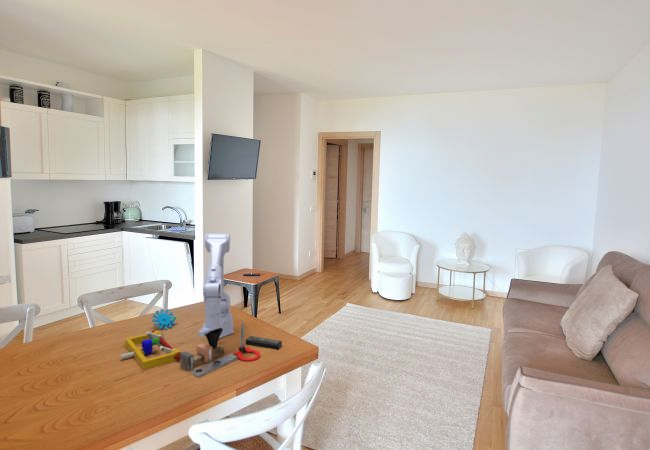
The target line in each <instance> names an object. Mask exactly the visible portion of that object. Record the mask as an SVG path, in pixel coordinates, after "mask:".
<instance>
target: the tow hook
mask: <svg viewBox="0 0 650 450" xmlns="http://www.w3.org/2000/svg"><path fill="white" fill-rule="evenodd" d="M239 342H240V343H239V347H238V350H237V351H234V352H233V355H234V356H236V357H237V359H238V360H240V361H242V362H251V363H252V362H255V361H258V360H259V359H260V358H261V352H260V351H258V350H256V349H251V348H250V347H249V346H248V347H246V346H245V322H244V321H242V322H241V327H240V341H239ZM245 353H246V354H248V353H249V354H254V355H255V356H253V357H244V356H243V354H245Z"/></svg>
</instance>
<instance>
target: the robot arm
mask: <svg viewBox="0 0 650 450" xmlns="http://www.w3.org/2000/svg"><path fill="white" fill-rule="evenodd" d="M230 245H231V235H230V233H208V232H207V233H205V235H204V247H205V249H206V251H207V253H209V254H210V261H209V262H210V263H209V264H210V265H209V266H207V268H206V274H205V283H204V284H203V286H202V294H203V303H204V322H203V323H202V328H201V329H200V330H198V337H201V338H204V337H205V338H206V339H207V343H208V345H209V346H212V349H215V348H217V346H218V345H219V340H220V339H221V338H223V337H227V336H228V335H231V334H233V333H235V331H234V317H233V314H232V313H231V296H230V294H229V293H227V292H226V291H224V277H225V276H224V275H225V273H224V271H225V270H224V269H225V268H224V267H225V265H224V264H225V263H224V262H225V255H226V254H227V253H229V252H230V251H231V249H230V248H231V246H230Z"/></svg>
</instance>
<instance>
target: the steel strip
mask: <svg viewBox="0 0 650 450" xmlns="http://www.w3.org/2000/svg"><path fill="white" fill-rule="evenodd" d="M237 360H238V356H235V355H234V354H232V353H229V354H226V355H224V356H221V357H219V358H218V359H215V360H212V361H211V363H209V362H207V363H205V364H204V365H201V366H200V367H198V368H195V369H193V371H191V374H192V375H193V376H195V377H197V378H201V377H202V376H205V375H207V374H210V373H211V372H214V371H215V370H218V369H221V368H222V367H224V366H226V365H228V364H231V363H232V362H235V361H237Z"/></svg>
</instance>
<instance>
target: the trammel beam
mask: <svg viewBox="0 0 650 450" xmlns="http://www.w3.org/2000/svg"><path fill="white" fill-rule="evenodd" d="M181 352H182V351H181ZM224 354H225V346H222V345H217V348H215V349H212V360H214V359H216V358H217V357H220V356H222V355H224ZM179 363H180V365H179V367H180V369H182V370H184V371H187V372H189V371H191V372H192V371H193V370H195V369H194V368H195V367H198V366H199V365H201V364H205V363H204V355H202V354H197V353H196V354H195V355H194V354H193V353H191V352H189V351H187V350H185V351H183V352H182V353H180V360H179Z"/></svg>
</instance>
